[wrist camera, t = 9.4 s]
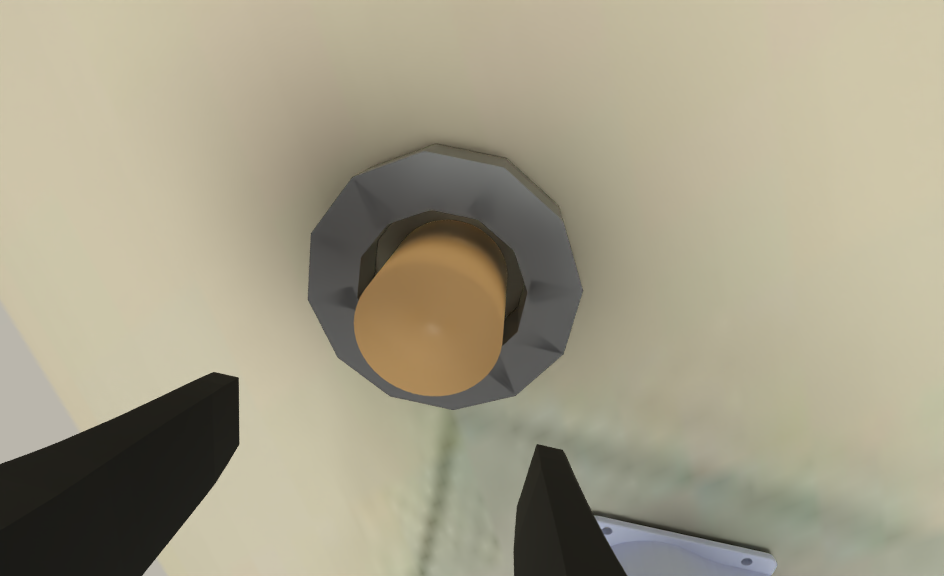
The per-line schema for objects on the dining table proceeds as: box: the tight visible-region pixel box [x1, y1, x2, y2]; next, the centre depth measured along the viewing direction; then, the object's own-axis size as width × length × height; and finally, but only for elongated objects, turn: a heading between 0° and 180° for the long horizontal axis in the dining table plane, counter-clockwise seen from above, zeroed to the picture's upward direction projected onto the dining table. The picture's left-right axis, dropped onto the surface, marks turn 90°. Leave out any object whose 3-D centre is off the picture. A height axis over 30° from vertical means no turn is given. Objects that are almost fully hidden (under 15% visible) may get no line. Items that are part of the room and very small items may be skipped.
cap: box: [354, 220, 508, 396], centre depth 17 cm, size 5×5×5 cm
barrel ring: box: [308, 144, 583, 410], centre depth 19 cm, size 10×10×2 cm
